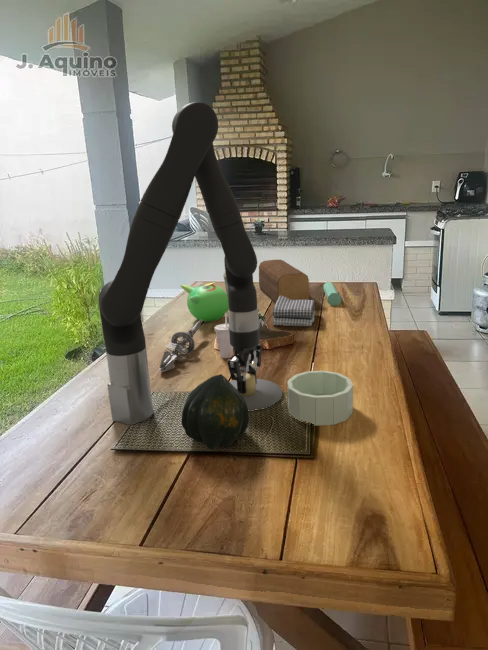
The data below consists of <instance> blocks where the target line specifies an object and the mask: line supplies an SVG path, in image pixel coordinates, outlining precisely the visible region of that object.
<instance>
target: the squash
mask: <svg viewBox="0 0 488 650" xmlns="http://www.w3.org/2000/svg"><path fill="white" fill-rule="evenodd" d="M181 413H182V414H181V421H180V422H181V426H182V428H183V429H184V431H185V434H186V436H188V437H189V438H190V439H192V440H193V441H195V442H196V443H203V444H204V445H205V447H206V448H207V449H209V450H216V449H218V448H219V447H220V446H222V447H229V446H231V445H232V444H234V443H235V442H236V441H237V439H238V438H240V437H241V436H243V435H244V434H245V432H246V430H248V429H247V428H248V427H249V421H250V420H249V419H250V417H249V416H250V415H249V412H248V408H247V404H246V402H245V400H244V398H243V396H242V395H241V394H240V392H239V391H238V390H237V389H236V388H235V387H234V386H233V385H232V384H231V383H230V380H228V379H227V378H226V377H225V376H224V375H223V374H222V373H220V374H217V375H216V374H215V375H212V376H211V377H209V378H207V379H206V380H205V381H203V382H201V383H200V384H198V385H197V386H196V387H195V388H194V389H193V390H191V392H190V393H189V394H188V396H187V398H186V400H185V402H184V405H183V407H182V412H181Z"/></svg>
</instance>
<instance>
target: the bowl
mask: <svg viewBox="0 0 488 650" xmlns="http://www.w3.org/2000/svg"><path fill="white" fill-rule="evenodd" d="M287 409H289V410H288V414H289V413H290V414H291V415H292V416H294V417H296V418H297V419H299V420H302V421H307V422H310V423H312V424H314V425H313V426H315V427H317V426H335V425H337V424H341V423H343V422H345V421H348V420H349V418H350V417H351V415H352V414H353V413H354V384H353V382H352V380H351V379H350V377H348V376H345V374H342V373H340V372H333V371H330V370H329V371H327V370H308V371H304V372H300V373H297V374H294V375H293V376H292V377H291V378H290V379H288V380H287Z"/></svg>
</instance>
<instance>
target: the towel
mask: <svg viewBox="0 0 488 650" xmlns="http://www.w3.org/2000/svg"><path fill="white" fill-rule="evenodd" d="M315 301H316V300H315V299H309V300H291V299H288V298H287V297H284V296H279V298H278V300H277V302H276V304H275V303H274V306H273V307H272V309H273V310H272V317H273V319H272V325H273V326H278V325H283V326H282V327H312V326H313V323H314V321H315V315H316V309H315V307H316V305H315Z"/></svg>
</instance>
